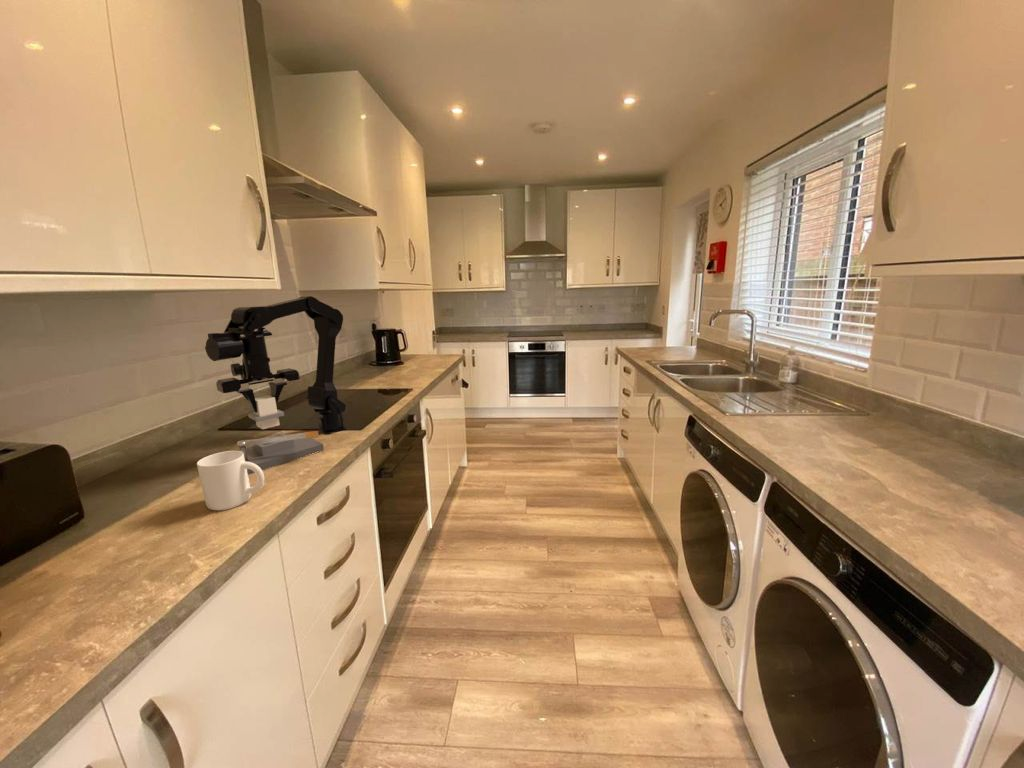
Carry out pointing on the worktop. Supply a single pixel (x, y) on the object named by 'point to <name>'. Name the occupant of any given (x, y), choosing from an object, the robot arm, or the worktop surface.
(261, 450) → the socket block
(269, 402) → the plug
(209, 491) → the mug
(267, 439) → the latch bar
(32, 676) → the worktop surface
